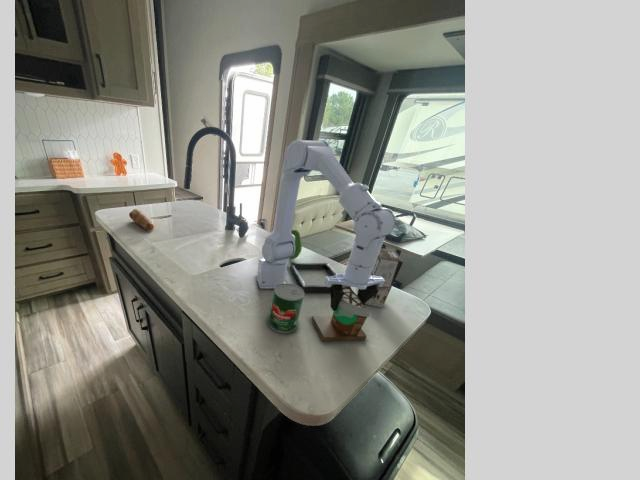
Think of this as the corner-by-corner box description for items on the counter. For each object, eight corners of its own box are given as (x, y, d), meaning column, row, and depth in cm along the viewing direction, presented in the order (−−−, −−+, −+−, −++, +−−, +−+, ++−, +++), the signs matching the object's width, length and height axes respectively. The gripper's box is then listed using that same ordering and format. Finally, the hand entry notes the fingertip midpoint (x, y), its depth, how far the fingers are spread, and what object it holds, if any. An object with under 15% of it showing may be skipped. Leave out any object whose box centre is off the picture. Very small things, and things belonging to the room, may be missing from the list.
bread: (142, 218, 138) (140, 207, 135) (156, 231, 126) (155, 219, 123) (129, 220, 135) (127, 209, 131) (143, 233, 122) (141, 221, 119)
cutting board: (322, 341, 71) (323, 337, 70) (311, 319, 78) (312, 315, 77) (364, 340, 72) (366, 336, 71) (350, 318, 79) (351, 315, 78)
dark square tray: (302, 293, 89) (303, 286, 88) (289, 268, 103) (290, 262, 102) (344, 292, 91) (346, 286, 90) (326, 268, 105) (327, 263, 104)
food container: (320, 311, 79) (329, 282, 73) (340, 311, 79) (350, 283, 74) (336, 341, 69) (347, 310, 63) (359, 340, 69) (372, 310, 64)
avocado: (291, 252, 115) (296, 225, 108) (303, 260, 109) (309, 232, 102) (276, 255, 112) (280, 227, 105) (287, 263, 106) (292, 234, 99)
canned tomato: (270, 332, 72) (275, 299, 66) (267, 314, 79) (272, 282, 72) (299, 333, 72) (307, 300, 66) (294, 315, 79) (301, 283, 73)
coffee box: (383, 307, 85) (404, 262, 76) (362, 304, 86) (380, 258, 77) (377, 292, 93) (395, 249, 83) (358, 289, 93) (374, 246, 84)
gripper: (339, 270, 59) (324, 318, 67) (399, 270, 61) (378, 317, 68) (327, 256, 64) (314, 302, 72) (382, 256, 66) (364, 301, 74)
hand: (344, 308), depth 71 cm, fingers closed on food container, 6 cm apart
